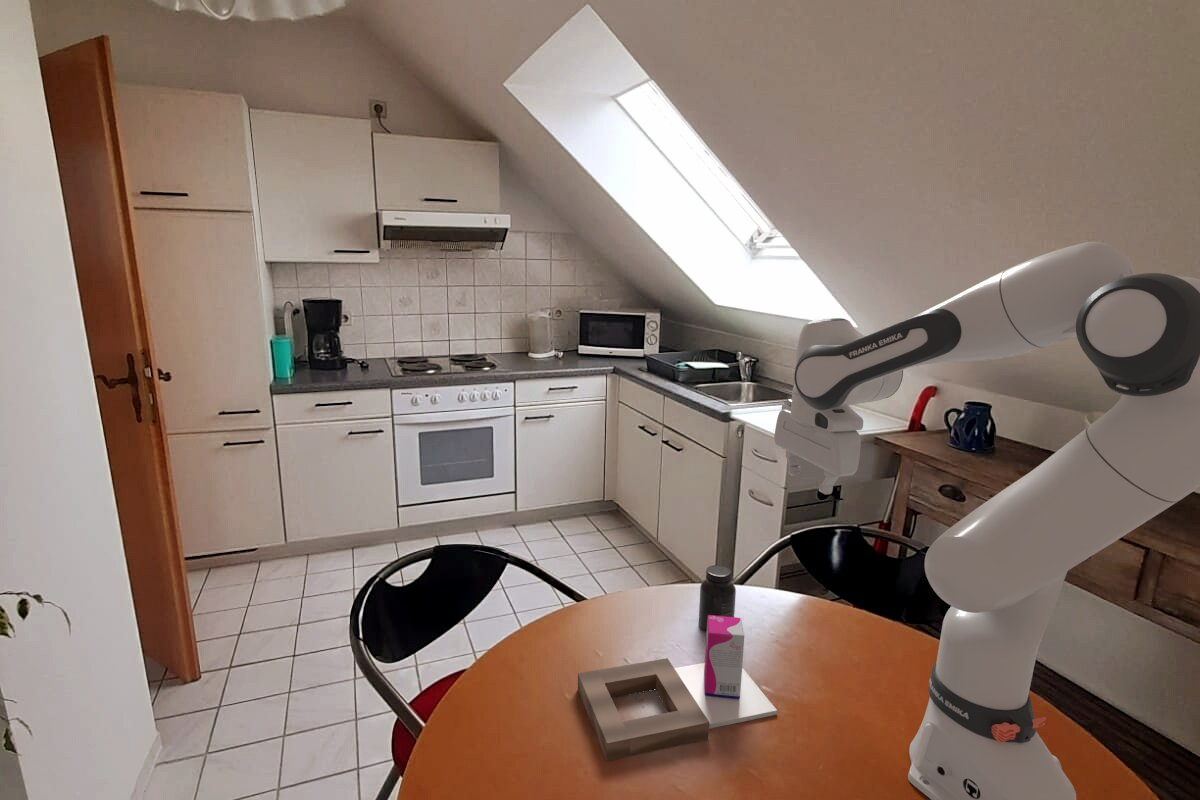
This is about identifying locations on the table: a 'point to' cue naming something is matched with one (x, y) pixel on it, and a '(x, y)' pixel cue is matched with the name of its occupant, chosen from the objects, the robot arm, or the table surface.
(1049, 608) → the robot arm
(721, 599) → the supplement bottle
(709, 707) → the white rectangular plate
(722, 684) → the supplement box
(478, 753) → the table surface
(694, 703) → the walnut holder
